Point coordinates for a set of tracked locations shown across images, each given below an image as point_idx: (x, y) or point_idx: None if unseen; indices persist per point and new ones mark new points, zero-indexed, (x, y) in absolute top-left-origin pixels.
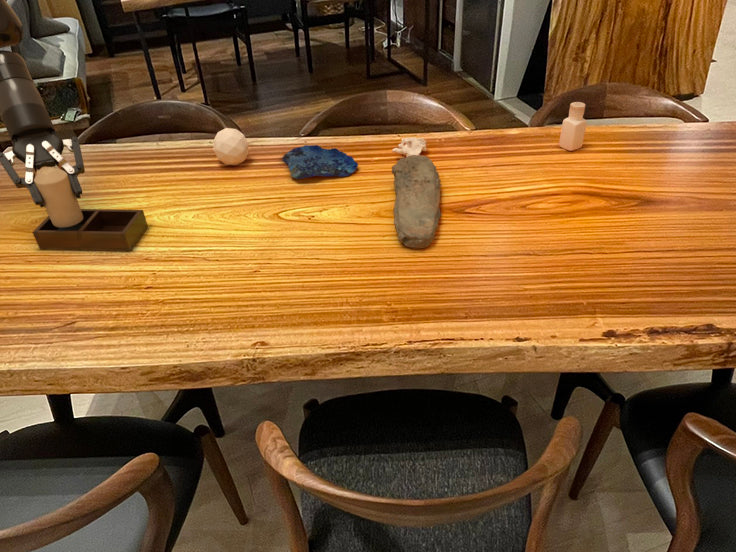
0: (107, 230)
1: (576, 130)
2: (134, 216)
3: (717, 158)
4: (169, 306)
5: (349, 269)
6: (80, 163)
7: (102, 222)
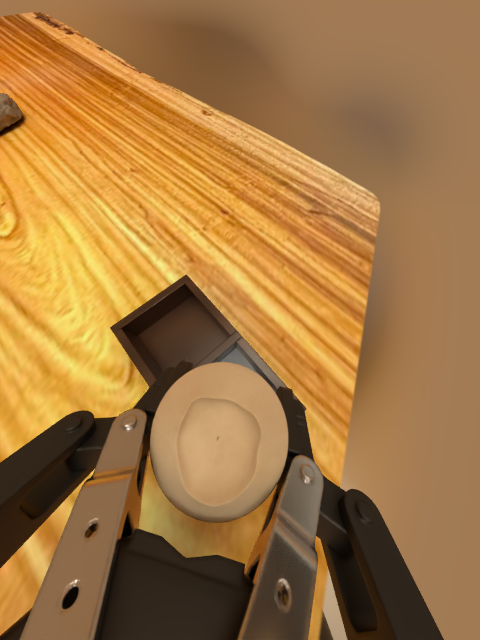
0: None
1: None
2: (137, 315)
3: None
4: (227, 178)
5: (82, 129)
6: (63, 424)
7: None
